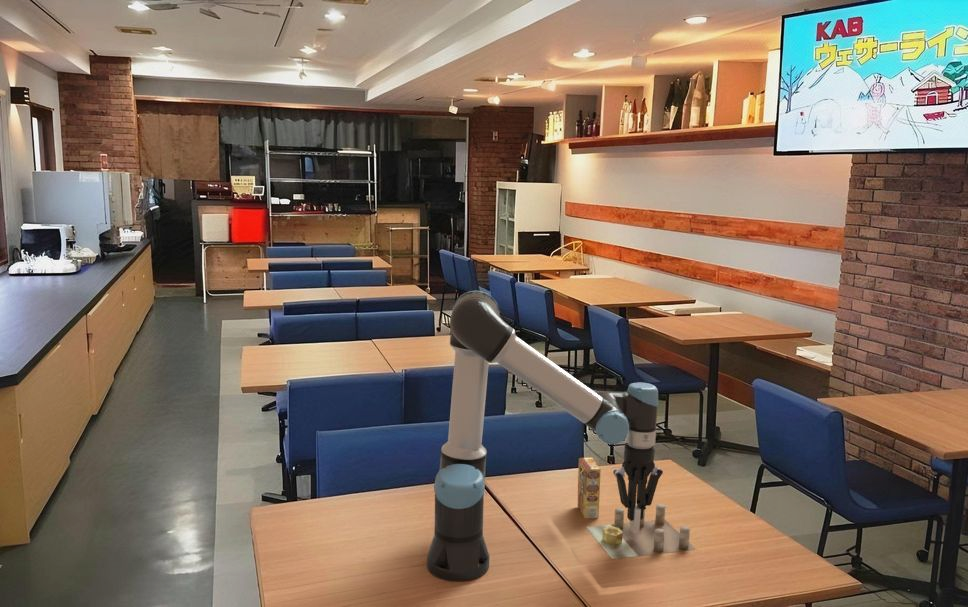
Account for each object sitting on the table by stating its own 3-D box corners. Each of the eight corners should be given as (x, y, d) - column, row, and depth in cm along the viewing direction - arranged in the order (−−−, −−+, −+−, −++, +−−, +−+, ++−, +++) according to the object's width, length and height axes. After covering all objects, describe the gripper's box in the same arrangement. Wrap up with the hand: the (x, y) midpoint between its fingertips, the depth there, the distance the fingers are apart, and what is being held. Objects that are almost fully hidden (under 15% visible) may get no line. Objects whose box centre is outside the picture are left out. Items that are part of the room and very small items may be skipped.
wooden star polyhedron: (608, 546, 186) (608, 536, 185) (600, 537, 191) (600, 527, 190) (624, 544, 187) (624, 534, 186) (615, 535, 192) (616, 525, 191)
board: (611, 563, 180) (613, 539, 179) (585, 531, 196) (586, 509, 195) (696, 553, 186) (698, 530, 185) (664, 523, 202) (665, 502, 201)
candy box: (599, 521, 202) (601, 469, 199) (584, 522, 201) (586, 469, 199) (590, 507, 210) (592, 456, 208) (575, 508, 210) (578, 457, 207)
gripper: (622, 451, 181) (616, 540, 185) (670, 447, 184) (664, 535, 188) (610, 440, 188) (605, 526, 192) (656, 437, 191) (650, 522, 195)
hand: (634, 530), depth 190 cm, fingers closed
